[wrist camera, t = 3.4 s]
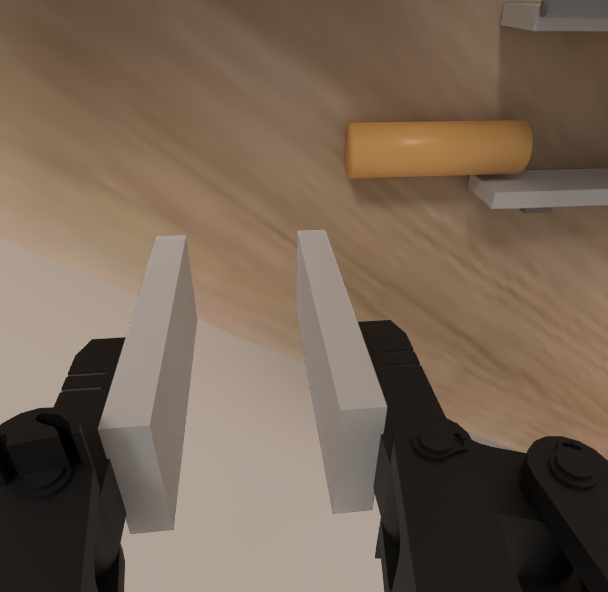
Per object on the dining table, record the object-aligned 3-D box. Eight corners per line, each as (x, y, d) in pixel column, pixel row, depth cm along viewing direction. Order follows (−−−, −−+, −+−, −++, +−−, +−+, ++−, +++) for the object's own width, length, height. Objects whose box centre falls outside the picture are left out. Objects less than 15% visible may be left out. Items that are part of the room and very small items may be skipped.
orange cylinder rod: (342, 137, 29) (346, 186, 29) (352, 112, 26) (356, 165, 26) (502, 134, 30) (508, 181, 30) (529, 109, 27) (535, 161, 27)
